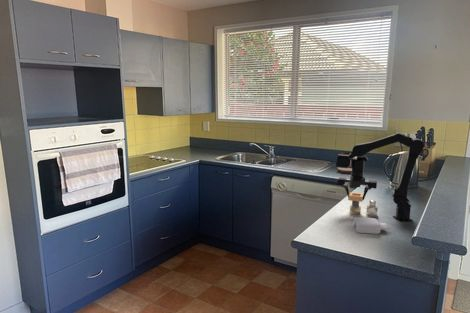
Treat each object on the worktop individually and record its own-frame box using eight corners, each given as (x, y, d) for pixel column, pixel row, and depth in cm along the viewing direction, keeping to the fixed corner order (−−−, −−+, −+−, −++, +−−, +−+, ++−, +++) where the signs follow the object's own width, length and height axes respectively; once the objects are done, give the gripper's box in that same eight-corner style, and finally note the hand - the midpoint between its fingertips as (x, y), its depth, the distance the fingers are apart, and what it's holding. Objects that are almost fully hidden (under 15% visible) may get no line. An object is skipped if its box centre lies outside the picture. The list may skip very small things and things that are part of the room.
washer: (363, 198, 173) (363, 193, 173) (362, 201, 167) (362, 197, 167) (350, 196, 176) (350, 192, 176) (348, 200, 170) (348, 195, 170)
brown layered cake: (358, 174, 259) (359, 155, 257) (338, 173, 262) (339, 154, 260) (355, 169, 278) (356, 151, 276) (336, 168, 281) (336, 150, 279)
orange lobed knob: (377, 214, 171) (378, 200, 170) (377, 217, 166) (378, 203, 165) (366, 212, 173) (367, 198, 172) (366, 216, 168) (366, 201, 167)
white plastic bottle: (393, 235, 145) (357, 233, 147) (387, 227, 154) (353, 226, 156) (394, 225, 144) (357, 223, 146) (388, 217, 153) (353, 216, 155)
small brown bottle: (361, 212, 174) (361, 199, 173) (359, 215, 169) (360, 202, 168) (350, 210, 176) (351, 198, 175) (348, 213, 172) (349, 200, 171)
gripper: (335, 170, 166) (334, 201, 169) (376, 174, 158) (374, 206, 160) (339, 166, 176) (338, 195, 178) (378, 169, 168) (376, 199, 170)
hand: (356, 199), depth 172 cm, fingers closed on washer, 7 cm apart
